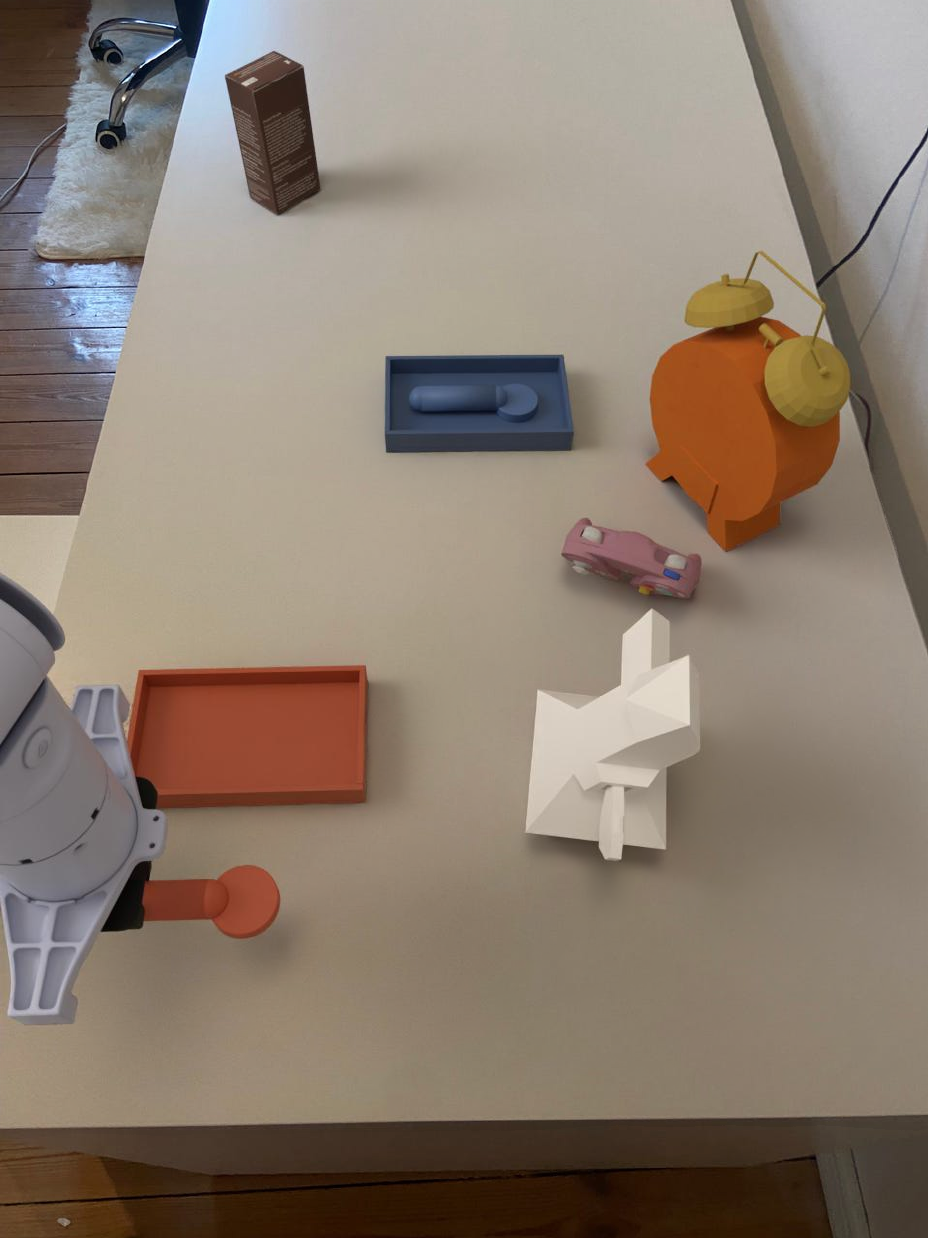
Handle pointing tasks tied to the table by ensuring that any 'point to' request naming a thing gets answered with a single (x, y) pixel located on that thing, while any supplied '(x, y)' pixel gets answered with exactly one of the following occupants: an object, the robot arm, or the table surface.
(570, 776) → the white faceted sculpture
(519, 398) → the blue spoon
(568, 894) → the table surface
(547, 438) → the blue tray
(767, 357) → the alarm clock
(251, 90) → the box
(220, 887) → the red spoon
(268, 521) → the table surface
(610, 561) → the pink toy car
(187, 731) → the red tray
